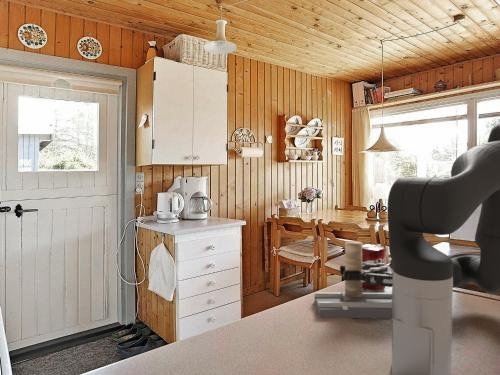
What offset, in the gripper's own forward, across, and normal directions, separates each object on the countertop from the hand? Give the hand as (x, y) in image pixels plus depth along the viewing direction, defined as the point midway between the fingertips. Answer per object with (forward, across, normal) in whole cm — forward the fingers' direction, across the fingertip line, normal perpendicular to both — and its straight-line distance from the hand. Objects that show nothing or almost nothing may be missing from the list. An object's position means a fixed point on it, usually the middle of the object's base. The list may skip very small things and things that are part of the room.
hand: (342, 272), depth 89 cm
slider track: (-6, 0, +9) cm, 11 cm away
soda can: (-12, -16, +9) cm, 22 cm away
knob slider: (-3, 0, +7) cm, 7 cm away
